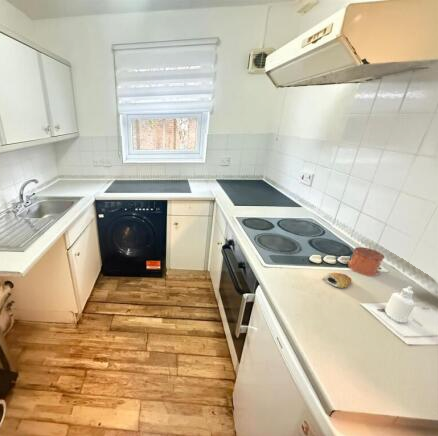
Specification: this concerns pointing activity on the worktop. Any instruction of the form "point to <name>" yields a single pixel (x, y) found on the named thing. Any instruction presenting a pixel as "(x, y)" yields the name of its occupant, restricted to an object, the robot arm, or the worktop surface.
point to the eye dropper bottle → (400, 305)
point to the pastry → (338, 280)
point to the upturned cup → (366, 261)
